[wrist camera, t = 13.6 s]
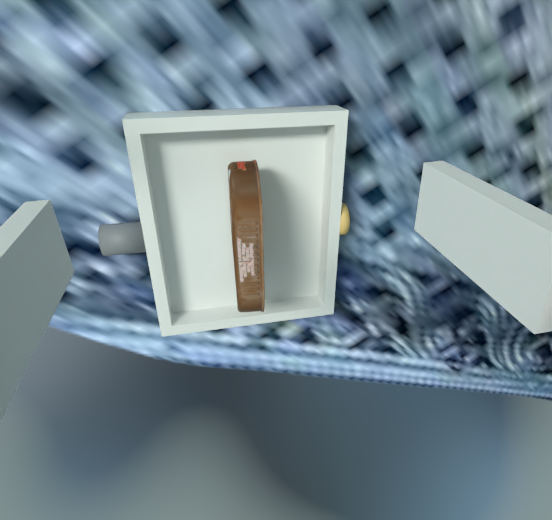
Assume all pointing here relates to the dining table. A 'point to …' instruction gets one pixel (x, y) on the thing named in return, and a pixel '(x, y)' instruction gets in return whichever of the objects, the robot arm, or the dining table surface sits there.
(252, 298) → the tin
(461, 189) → the robot arm
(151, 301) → the dining table surface
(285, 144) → the white square dish
